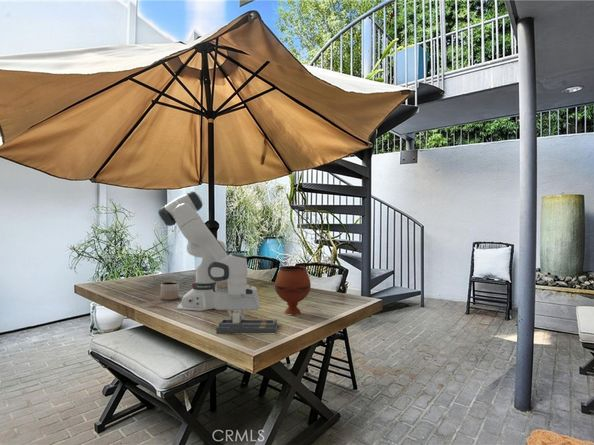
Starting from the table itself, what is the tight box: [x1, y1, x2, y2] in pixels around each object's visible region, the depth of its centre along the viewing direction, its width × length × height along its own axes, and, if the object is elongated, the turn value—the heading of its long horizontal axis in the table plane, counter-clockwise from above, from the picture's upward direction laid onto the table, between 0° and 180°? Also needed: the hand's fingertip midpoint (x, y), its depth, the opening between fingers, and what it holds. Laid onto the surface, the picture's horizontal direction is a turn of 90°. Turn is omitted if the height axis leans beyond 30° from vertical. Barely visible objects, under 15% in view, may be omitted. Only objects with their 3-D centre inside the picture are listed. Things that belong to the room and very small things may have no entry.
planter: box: [160, 281, 180, 301], centre depth 213 cm, size 11×11×10 cm
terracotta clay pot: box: [274, 265, 311, 316], centre depth 181 cm, size 19×19×25 cm
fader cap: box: [232, 310, 242, 323], centre depth 154 cm, size 3×4×5 cm
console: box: [215, 316, 278, 334], centre depth 154 cm, size 26×13×4 cm, turn 90°
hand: (236, 319), depth 154 cm, fingers closed on fader cap, 3 cm apart
